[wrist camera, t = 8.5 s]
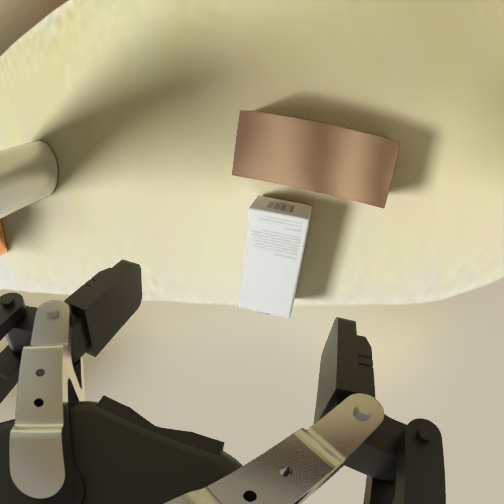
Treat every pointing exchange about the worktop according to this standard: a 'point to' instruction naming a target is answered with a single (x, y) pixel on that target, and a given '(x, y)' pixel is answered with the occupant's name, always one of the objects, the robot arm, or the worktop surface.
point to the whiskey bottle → (2, 241)
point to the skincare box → (273, 255)
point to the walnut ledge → (315, 156)
